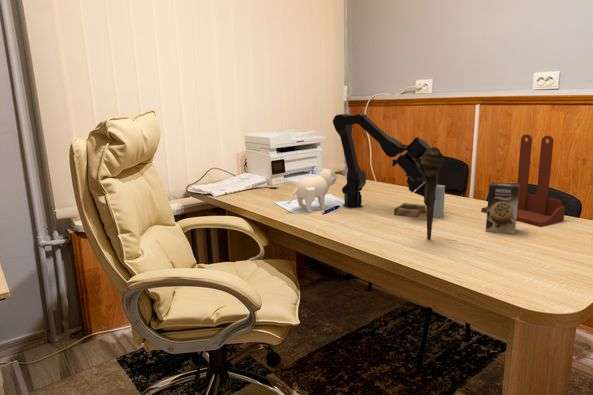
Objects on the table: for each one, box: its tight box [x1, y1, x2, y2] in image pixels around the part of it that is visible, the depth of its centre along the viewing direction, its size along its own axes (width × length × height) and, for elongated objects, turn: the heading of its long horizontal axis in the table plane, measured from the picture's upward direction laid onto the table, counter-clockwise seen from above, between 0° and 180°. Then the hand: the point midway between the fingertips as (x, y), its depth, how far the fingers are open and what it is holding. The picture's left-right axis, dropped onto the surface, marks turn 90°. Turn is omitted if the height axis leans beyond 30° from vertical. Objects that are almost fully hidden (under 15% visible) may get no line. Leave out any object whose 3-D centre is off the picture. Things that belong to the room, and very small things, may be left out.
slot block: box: [393, 202, 427, 219], centre depth 168 cm, size 9×10×2 cm
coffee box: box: [484, 181, 520, 235], centre depth 142 cm, size 9×6×16 cm
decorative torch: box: [420, 146, 445, 241], centre depth 134 cm, size 7×7×30 cm
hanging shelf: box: [480, 133, 566, 228], centre depth 156 cm, size 24×13×30 cm, turn 27°
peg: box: [433, 184, 446, 219], centre depth 161 cm, size 4×4×12 cm
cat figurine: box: [285, 167, 338, 213], centre depth 178 cm, size 25×10×17 cm, turn 115°
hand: (438, 197), depth 161 cm, fingers open, 9 cm apart
